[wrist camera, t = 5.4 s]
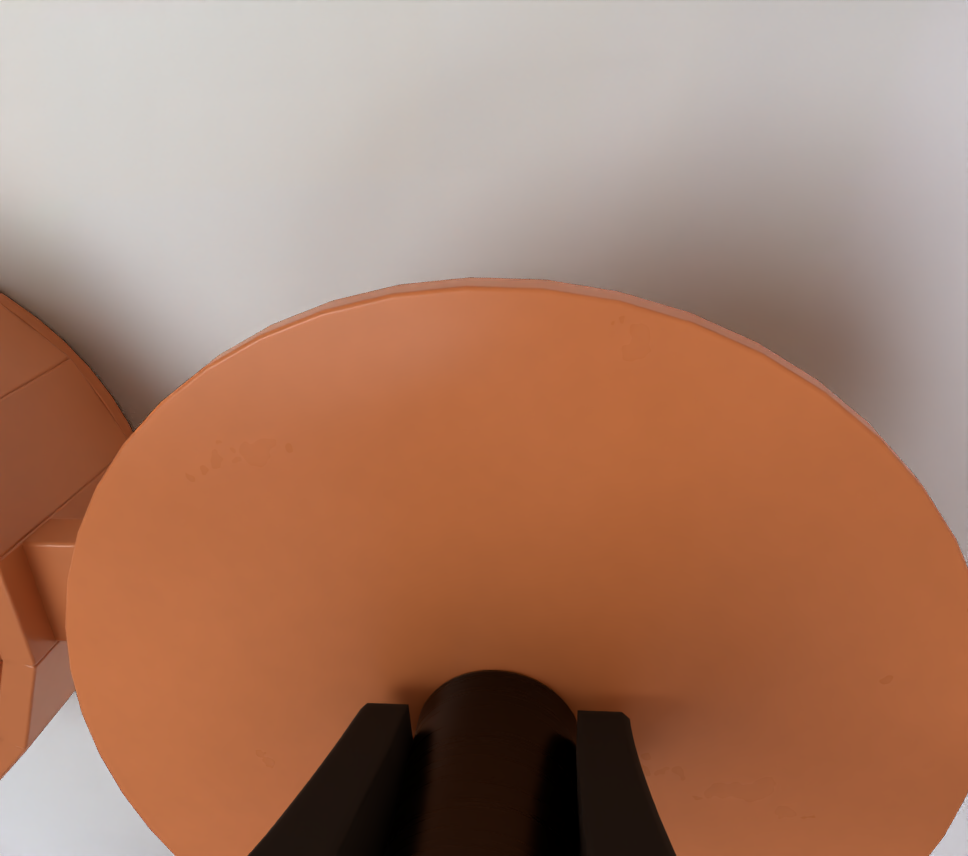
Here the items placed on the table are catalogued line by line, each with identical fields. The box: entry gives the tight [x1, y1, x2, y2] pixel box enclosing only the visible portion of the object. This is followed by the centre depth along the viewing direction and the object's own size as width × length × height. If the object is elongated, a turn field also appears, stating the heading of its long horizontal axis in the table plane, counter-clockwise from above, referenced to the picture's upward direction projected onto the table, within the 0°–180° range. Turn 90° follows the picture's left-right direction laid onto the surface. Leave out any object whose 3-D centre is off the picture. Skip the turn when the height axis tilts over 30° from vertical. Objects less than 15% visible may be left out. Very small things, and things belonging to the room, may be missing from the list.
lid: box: [65, 277, 968, 856], centre depth 11 cm, size 13×13×4 cm
